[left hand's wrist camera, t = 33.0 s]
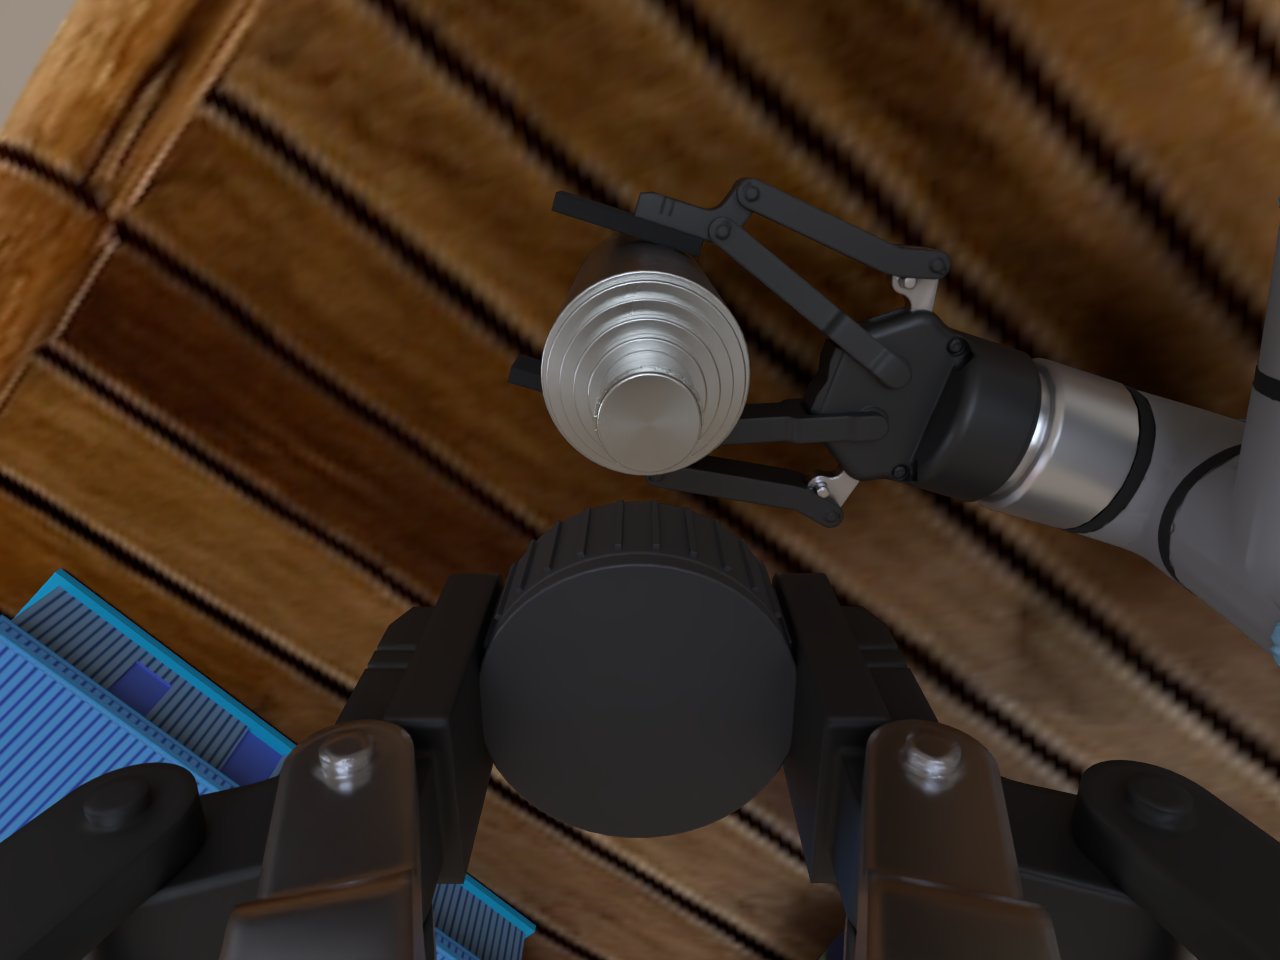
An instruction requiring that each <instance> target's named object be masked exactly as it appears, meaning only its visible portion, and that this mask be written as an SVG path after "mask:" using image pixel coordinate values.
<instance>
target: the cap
mask: <svg viewBox="0 0 1280 960" xmlns="http://www.w3.org/2000/svg"><path fill="white" fill-rule="evenodd" d="M791 643H792V641H791V638H790V635H789V632H788V629H787V625H786V622H785V619H784V616H783V613H782V610H781V607H780V604H779V600H778V597H777V594H776V591H775V588H772V585H771V582H770V579H769V576H768V572H767V569H766V566H765V564H764V563H763V561H762V562H760V563H759V561H758V560H757V559H756V558H755V556H754V555H753V554H752V553H751V551H750V550H749V549H748V547H747V543H746V541H745V540H744V539H743V538H741V539H740V540H739V539H738V538H737V537H736V536H735V535H734V534H732V533H731V532H730V531H728V530H727V529H725V528H724V527H723V526H721V522H720V521H718V520H717V519H716V520H715V521H713V520H711V519H709V518H707V517H705V516H703V515H701V514H698V513H695V512H693V511H691V508H689V507H686V506H685V508H681V507H677V506H673V505H669V504H662V503H658V501H657V500H652V502H624V501H623V500H619V501H617V503H615V504H609V505H605V506H601V507H596V508H592V509H591V508H590V507H588V508H585V509H584V512H582V513H579V514H576V515H574V516H572V517H570V518H568V519H566V520H565V521H563V522H561V521H560V520H559V521H557V522H555V525H554V527H553V528H552V529H550V530H549V531H548V532H546V533H545V534H543V535H542V536H541V537H540V538H539V539H538V540H537V541H535V540H534V539H533V540H532V541H531V542H530V544H529V547H528V550H527V552H526V553H525V554H524V555H523V557H522V558H521V559H520V560H519V562H518V564H516V563H513V564H512V566H511V568H510V571H509V574H508V578H507V581H506V584H505V587H504V590H502V589H501V592H500V595H499V599H498V602H497V605H496V608H495V611H494V614H493V617H492V620H491V623H490V626H489V629H488V632H487V635H486V638H485V641H484V649H486V650H485V653H484V656H483V659H482V662H481V666H480V670H479V684H480V696H481V709H482V721H483V734H484V744H485V747H486V749H487V752H488V754H489V756H490V757H491V759H492V761H493V763H494V764H495V766H496V768H497V769H498V771H499V772H500V773H501V774H502V776H503V777H504V778H505V780H506V781H507V782H508V783H509V784H510V785H511V786H512V787H513V788H514V789H515V790H516V791H517V792H518V793H519V794H520V795H521V796H522V797H523V798H525V799H526V800H527V801H528V802H530V803H531V804H532V805H534V806H535V807H536V808H538V809H540V810H541V811H543V812H545V813H546V814H548V815H550V816H551V817H553V818H555V819H557V820H560V821H562V822H564V823H566V824H568V825H571V826H574V827H577V828H580V829H583V830H586V831H589V832H594V833H599V834H603V835H608V836H617V837H627V838H650V837H660V836H669V835H674V834H678V833H683V832H688V831H691V830H694V829H697V828H700V827H703V826H706V825H708V824H711V823H713V822H715V821H717V820H720V819H722V818H724V817H726V816H727V815H729V814H731V813H732V812H734V811H736V810H738V809H739V808H741V807H742V806H743V805H745V804H746V803H747V802H749V801H750V800H751V799H752V798H754V797H755V796H756V795H757V794H758V793H759V792H760V791H761V790H762V789H763V788H764V787H765V786H766V785H767V784H768V783H769V782H770V781H771V779H772V778H773V777H774V776H775V774H776V773H777V772H778V771H779V769H780V768H781V766H782V764H783V762H784V761H785V759H786V757H787V756H788V754H789V752H790V749H791V739H792V726H793V713H794V700H795V687H796V673H797V666H796V662H795V659H794V656H793V653H792V650H791Z"/></svg>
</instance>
